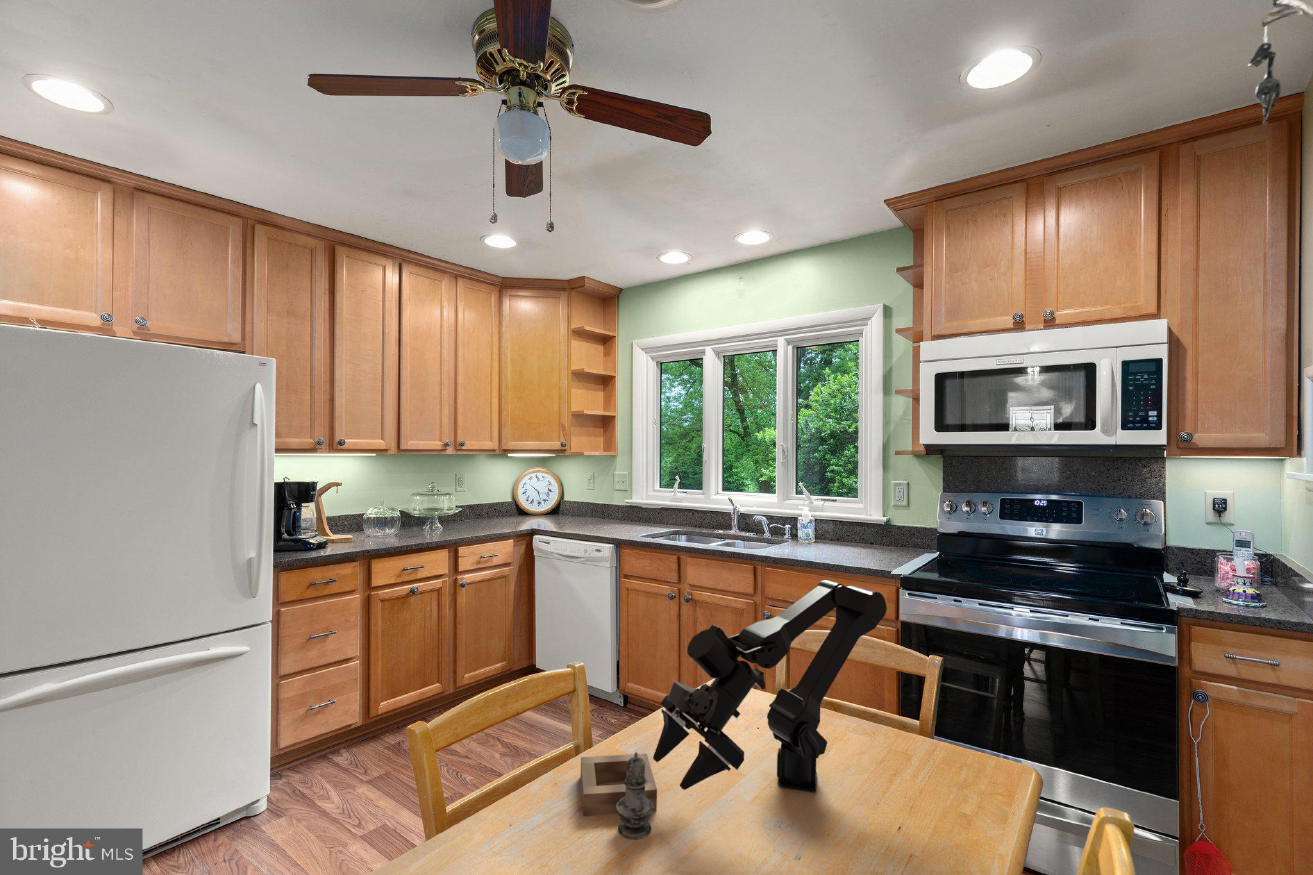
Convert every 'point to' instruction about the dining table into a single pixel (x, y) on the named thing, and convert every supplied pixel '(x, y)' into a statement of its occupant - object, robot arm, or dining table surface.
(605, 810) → the holder
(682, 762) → the dining table surface
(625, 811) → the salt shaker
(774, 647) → the robot arm
